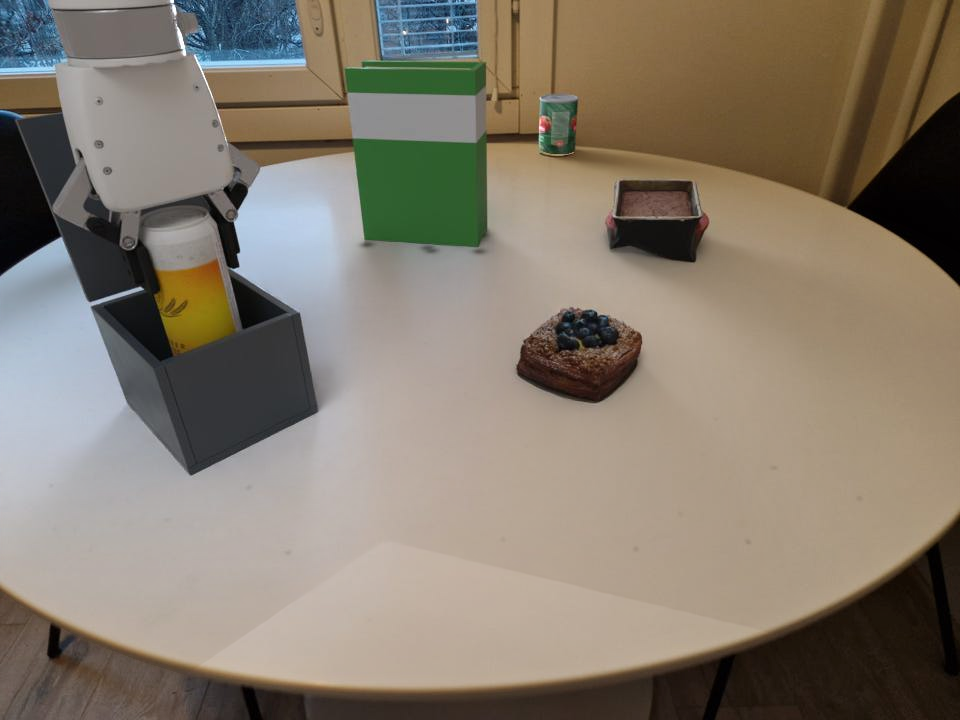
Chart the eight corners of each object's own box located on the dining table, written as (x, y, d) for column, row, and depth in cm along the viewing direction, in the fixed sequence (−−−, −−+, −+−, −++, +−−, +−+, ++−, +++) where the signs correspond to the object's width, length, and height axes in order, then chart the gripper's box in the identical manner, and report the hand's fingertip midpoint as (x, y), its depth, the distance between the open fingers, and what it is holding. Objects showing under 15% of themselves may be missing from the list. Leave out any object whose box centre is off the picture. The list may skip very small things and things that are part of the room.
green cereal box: (364, 239, 98) (344, 68, 86) (380, 222, 105) (363, 60, 92) (478, 246, 95) (475, 70, 83) (487, 228, 102) (485, 62, 89)
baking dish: (593, 270, 93) (603, 208, 86) (611, 210, 105) (621, 152, 99) (696, 289, 90) (715, 225, 83) (702, 225, 102) (718, 165, 96)
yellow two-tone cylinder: (182, 363, 61) (134, 209, 53) (249, 351, 63) (212, 199, 55) (181, 398, 56) (128, 235, 48) (254, 384, 58) (214, 223, 50)
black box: (318, 411, 62) (300, 312, 56) (190, 475, 55) (153, 369, 49) (246, 354, 71) (223, 264, 65) (127, 403, 64) (89, 306, 58)
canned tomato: (582, 153, 138) (586, 98, 132) (552, 158, 134) (554, 102, 128) (560, 145, 143) (563, 92, 137) (530, 150, 140) (532, 96, 134)
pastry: (504, 377, 66) (504, 327, 63) (558, 328, 75) (561, 282, 72) (602, 412, 61) (608, 360, 58) (649, 355, 70) (657, 306, 66)
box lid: (178, 95, 57) (155, 92, 61) (16, 119, 50) (1, 114, 53) (224, 260, 65) (201, 249, 68) (89, 302, 57) (71, 287, 61)
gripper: (218, 23, 52) (262, 236, 61) (-38, 45, 42) (63, 295, 51) (264, 29, 47) (304, 258, 57) (-10, 55, 37) (95, 328, 47)
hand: (189, 274), depth 54 cm, fingers closed on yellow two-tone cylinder, 6 cm apart
